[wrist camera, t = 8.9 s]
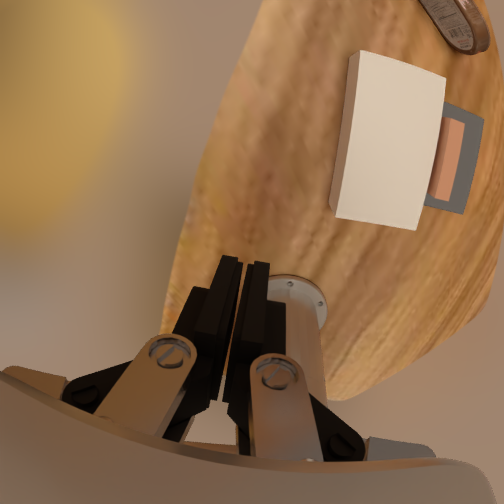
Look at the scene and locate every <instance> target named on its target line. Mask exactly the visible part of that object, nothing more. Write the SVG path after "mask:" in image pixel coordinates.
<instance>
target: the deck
mask: <svg viewBox="0 0 504 504" xmlns="http://www.w3.org/2000/svg"><path fill="white" fill-rule="evenodd" d="M445 85H446V78H444V77H442V76H439V75H437V74H434V73H432V72H429V71H427V70H424V69H421V68H419V67H416V66H413V65H410V64H407V63H404V62H401V61H398V60H395V59H392V58H389V57H385V56H382V55H378V54H375V53H371V52H367V51H363V50H359V51H358V52H356V53H355V54H353V55H352V56H350V57H349V65H348V75H347V84H346V92H345V100H344V108H343V116H342V123H341V130H340V137H339V143H338V150H337V156H336V162H335V168H334V174H333V180H332V185H331V191H330V196H329V202H328V203H329V205H330V207H331V209H332V211H333V213H334V216H335V217H337V218H343V219H350V220H356V221H363V222H369V223H375V224H381V225H387V226H393V227H398V228H404V229H410V230H415V231H416V228H417V225H418V221H419V218H420V214H421V211H422V207H423V204H424V200H425V196H426V192H427V188H428V184H429V180H430V176H431V171H432V167H433V162H434V157H435V152H436V147H437V142H438V136H439V130H440V124H441V118H442V111H443V103H444V94H445Z"/></svg>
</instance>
